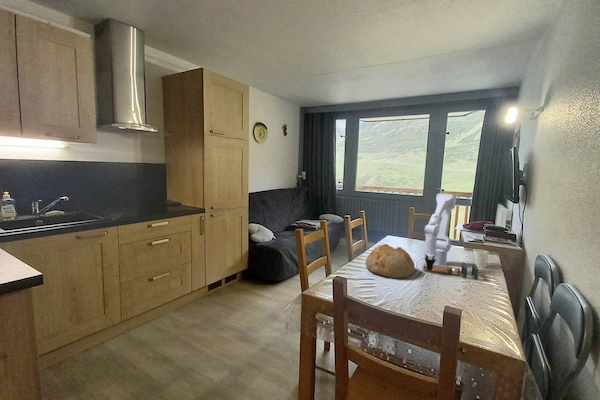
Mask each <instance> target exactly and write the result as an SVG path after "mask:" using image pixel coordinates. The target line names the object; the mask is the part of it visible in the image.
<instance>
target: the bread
mask: <svg viewBox="0 0 600 400" xmlns="http://www.w3.org/2000/svg"><path fill="white" fill-rule="evenodd" d="M365 267H366V269H367V271H370V272H371V273H374V274H377V275H378V276H379V275H380V276H383V277H387V278H389V279H407V278H410V277H412V275H413V274H414V272H415V267H416V266H415V263H414V261H413V259H412V257H411V256H410V254H409V253H408V251H406V250H405V249H404V248H402V247H401V246H399V247H392V246H391V245H389V244H386V243H385V244H381V245H377V246H376V247H375V248H374V249H372V251H371V252H370V253H369V254H368V256H367V257H366V259H365Z"/></svg>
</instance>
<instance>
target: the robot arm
mask: <svg viewBox="0 0 600 400" xmlns="http://www.w3.org/2000/svg"><path fill="white" fill-rule="evenodd" d="M435 197H436V198H435V201H436V207H435V212H434V213H433V214H432V215H431V217H430V219H429V221H428V224H425V226H424V236H425V237H424V238H425V244H424V245H425V246H424V256H425V257H424V260H425V264H427V270H430V271H431V270H432V267H433V265H439V266H446V267H448V265H447V258H448V257H447V256H448V255H447V254H448V252H450V251H451V247H452V244H451V243H452V241H451V238H450V237H449V236H448V230H449V224H450V219H451V213H452V210H453V209H455V207H456V203H457V196H456V194H455V193H454V194H453V193H452V194H451V193H440V192H439V193H437V194H436V196H435Z"/></svg>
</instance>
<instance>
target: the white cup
mask: <svg viewBox="0 0 600 400" xmlns="http://www.w3.org/2000/svg"><path fill="white" fill-rule="evenodd" d="M489 254H490V252H489V251H488V250H487V249H486V250H485V249H481V248H473V249H472V263H473V264H476V266H477V268H478V269H480V268H481V269H485V268H487V264H488V259H489Z"/></svg>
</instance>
